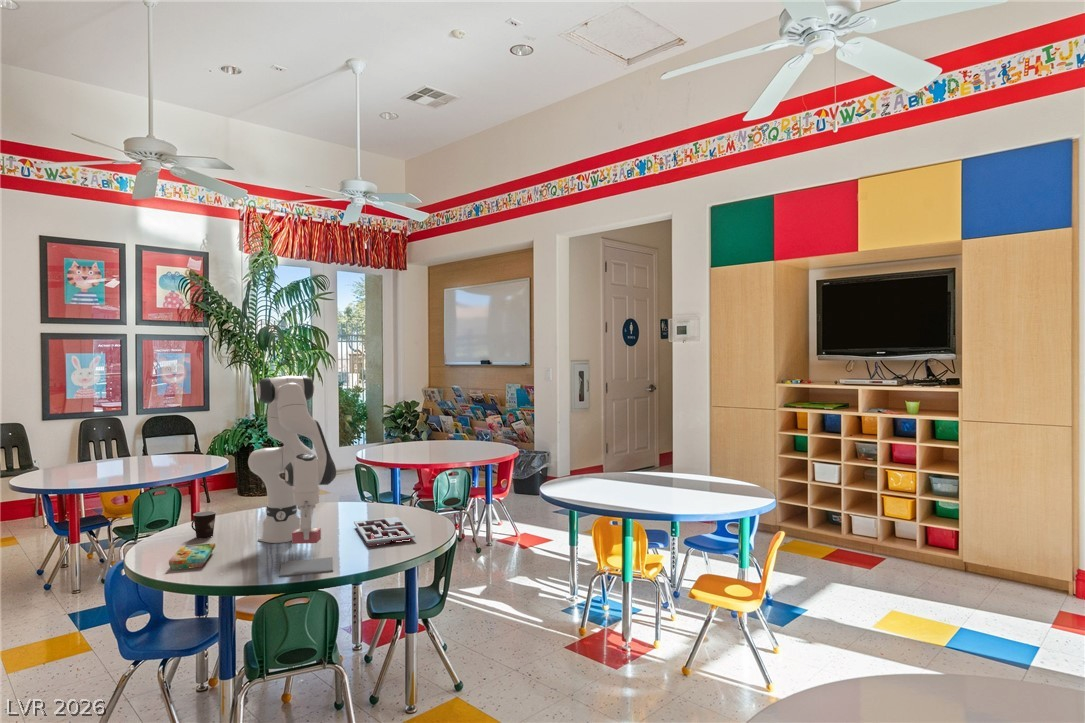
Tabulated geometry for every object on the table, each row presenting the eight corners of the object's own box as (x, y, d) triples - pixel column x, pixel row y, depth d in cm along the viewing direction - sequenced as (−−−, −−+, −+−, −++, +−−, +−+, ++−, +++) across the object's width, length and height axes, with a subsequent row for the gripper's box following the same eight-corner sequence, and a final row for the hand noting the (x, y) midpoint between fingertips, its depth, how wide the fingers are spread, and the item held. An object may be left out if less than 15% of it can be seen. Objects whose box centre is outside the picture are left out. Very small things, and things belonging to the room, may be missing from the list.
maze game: (415, 543, 269) (414, 535, 269) (366, 548, 261) (366, 541, 261) (397, 523, 301) (397, 516, 301) (354, 528, 293) (353, 521, 293)
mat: (281, 563, 241) (281, 561, 241) (332, 558, 247) (332, 557, 247) (279, 577, 226) (279, 575, 226) (333, 571, 232) (333, 569, 232)
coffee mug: (209, 532, 285) (209, 510, 285) (219, 535, 280) (219, 512, 280) (182, 538, 275) (182, 515, 275) (192, 542, 270) (192, 518, 270)
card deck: (320, 538, 240) (320, 527, 240) (316, 543, 234) (316, 531, 234) (296, 539, 239) (296, 528, 239) (292, 543, 233) (292, 532, 233)
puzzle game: (168, 558, 233) (182, 543, 252) (168, 571, 233) (182, 555, 252) (204, 555, 237) (215, 541, 256) (204, 568, 237) (215, 553, 256)
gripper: (315, 503, 228) (315, 543, 228) (316, 493, 247) (316, 529, 247) (296, 505, 226) (296, 544, 226) (298, 494, 245) (298, 530, 245)
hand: (306, 536), depth 236 cm, fingers closed on card deck, 6 cm apart
